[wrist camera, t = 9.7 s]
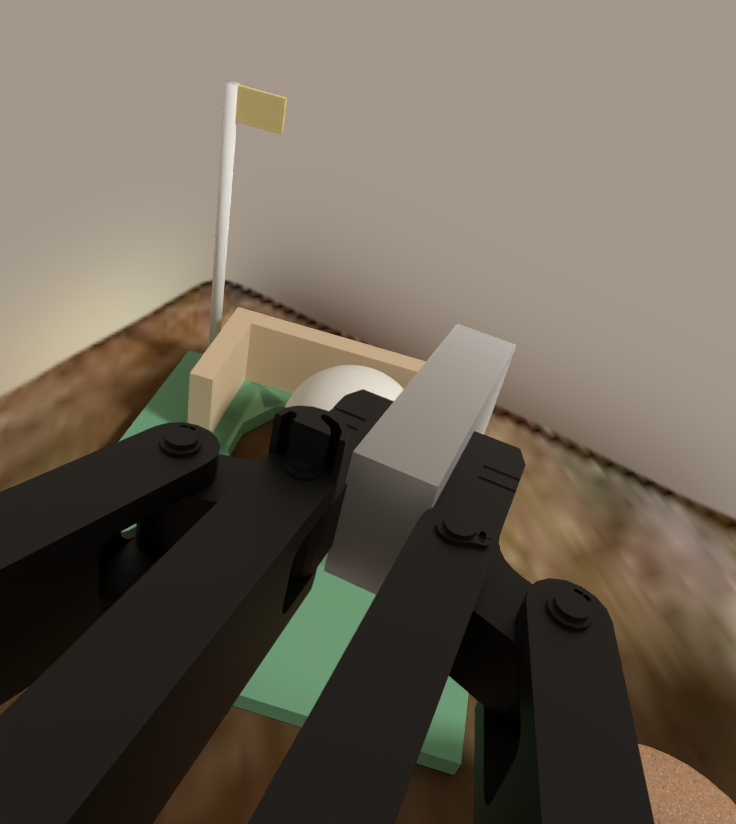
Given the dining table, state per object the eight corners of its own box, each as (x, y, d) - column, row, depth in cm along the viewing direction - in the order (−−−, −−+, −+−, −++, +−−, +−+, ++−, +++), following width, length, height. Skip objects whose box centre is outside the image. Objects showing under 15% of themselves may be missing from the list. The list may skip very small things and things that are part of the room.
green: (490, 442, 53) (603, 176, 40) (454, 775, 34) (652, 466, 20) (193, 355, 54) (207, 66, 41) (-12, 629, 35) (-114, 242, 21)
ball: (422, 538, 43) (317, 520, 48) (463, 409, 46) (360, 407, 52) (335, 476, 37) (227, 464, 42) (389, 332, 40) (282, 340, 46)
